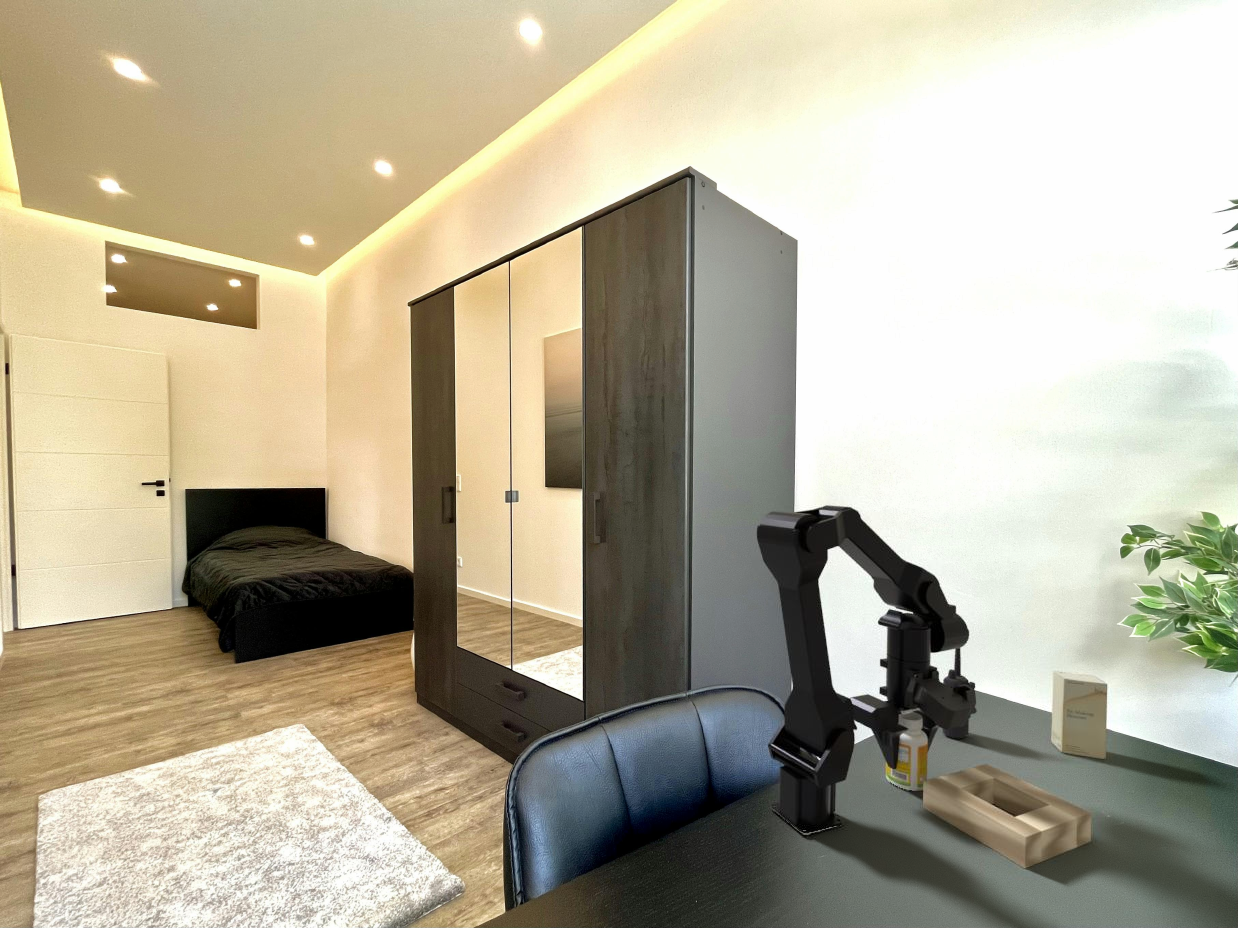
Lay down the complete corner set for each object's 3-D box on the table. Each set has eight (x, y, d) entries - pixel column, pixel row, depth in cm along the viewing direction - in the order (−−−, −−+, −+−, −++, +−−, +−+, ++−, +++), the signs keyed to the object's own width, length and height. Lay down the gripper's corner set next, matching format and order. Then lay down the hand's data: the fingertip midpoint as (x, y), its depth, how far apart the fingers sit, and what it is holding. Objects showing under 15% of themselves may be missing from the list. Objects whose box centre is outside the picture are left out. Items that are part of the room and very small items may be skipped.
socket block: (1025, 868, 66) (1025, 836, 66) (923, 807, 78) (923, 780, 78) (1090, 841, 71) (1091, 812, 71) (986, 788, 83) (986, 763, 83)
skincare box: (1061, 753, 95) (1062, 678, 95) (1050, 741, 99) (1051, 669, 99) (1108, 760, 93) (1109, 683, 93) (1094, 747, 97) (1095, 674, 97)
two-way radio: (951, 727, 104) (953, 642, 104) (979, 736, 100) (980, 648, 100) (938, 735, 100) (940, 647, 100) (967, 745, 97) (968, 654, 97)
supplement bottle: (917, 774, 87) (918, 708, 87) (933, 793, 81) (934, 723, 81) (880, 771, 87) (881, 705, 87) (893, 790, 82) (894, 720, 82)
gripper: (911, 682, 73) (909, 807, 73) (1005, 666, 81) (1003, 779, 81) (843, 656, 83) (841, 766, 83) (933, 644, 91) (931, 744, 91)
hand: (906, 764), depth 84 cm, fingers closed on supplement bottle, 5 cm apart
